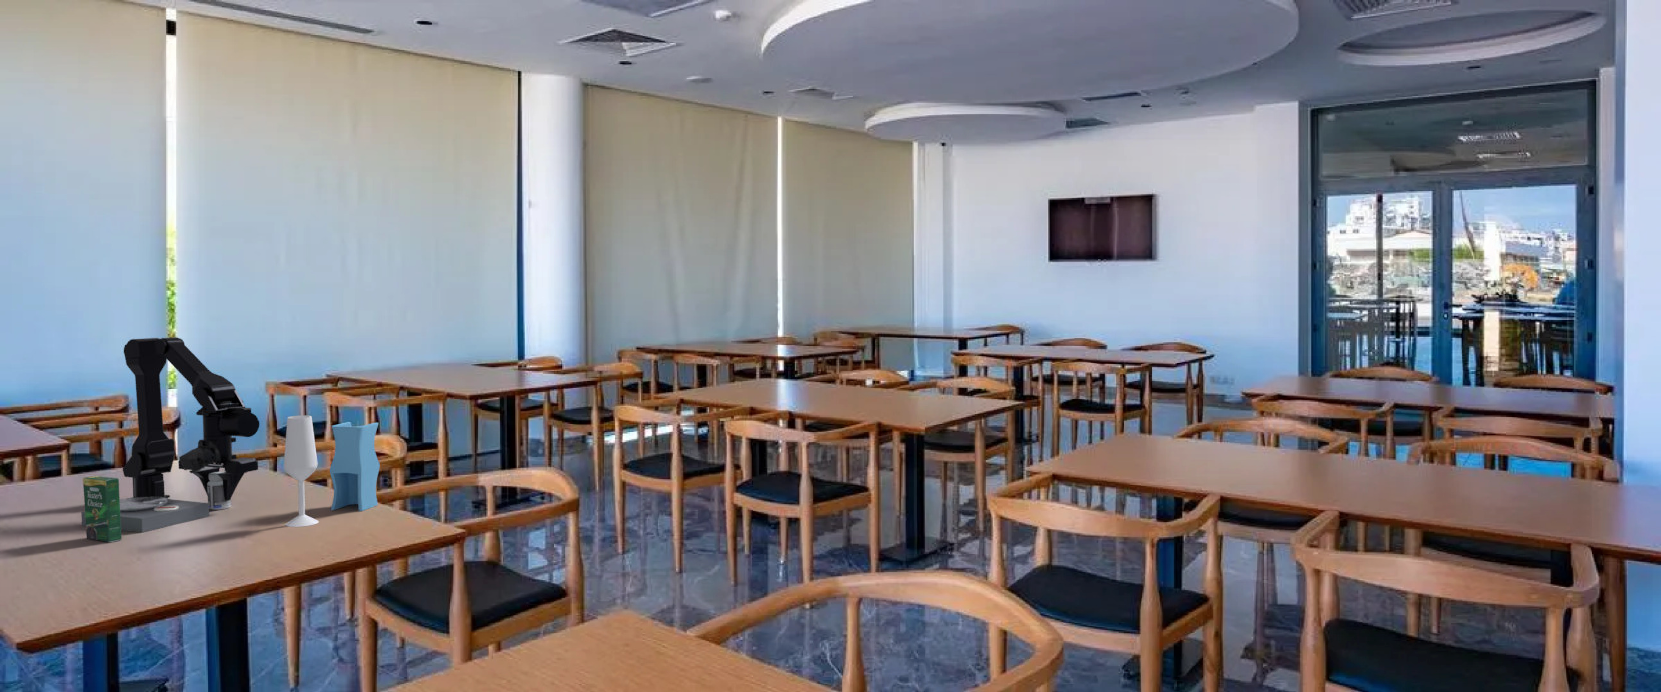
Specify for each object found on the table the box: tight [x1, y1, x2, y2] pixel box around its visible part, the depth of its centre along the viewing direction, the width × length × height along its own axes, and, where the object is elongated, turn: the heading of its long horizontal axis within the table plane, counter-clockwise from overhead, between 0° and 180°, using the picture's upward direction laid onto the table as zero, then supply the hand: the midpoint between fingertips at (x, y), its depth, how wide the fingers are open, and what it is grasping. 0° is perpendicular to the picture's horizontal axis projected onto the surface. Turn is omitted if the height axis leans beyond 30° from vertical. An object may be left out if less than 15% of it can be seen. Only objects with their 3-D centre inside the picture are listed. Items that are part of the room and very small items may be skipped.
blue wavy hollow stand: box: [329, 421, 381, 512], centre depth 240 cm, size 8×8×20 cm
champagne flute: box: [283, 415, 320, 528], centre depth 223 cm, size 7×7×24 cm
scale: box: [81, 498, 210, 533], centre depth 225 cm, size 18×16×4 cm
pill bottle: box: [207, 471, 232, 511], centre depth 238 cm, size 5×5×8 cm
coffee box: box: [82, 475, 122, 543], centre depth 208 cm, size 8×3×13 cm, turn 66°
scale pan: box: [120, 497, 168, 512], centre depth 225 cm, size 11×11×1 cm
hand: (219, 499), depth 238 cm, fingers closed on pill bottle, 5 cm apart
